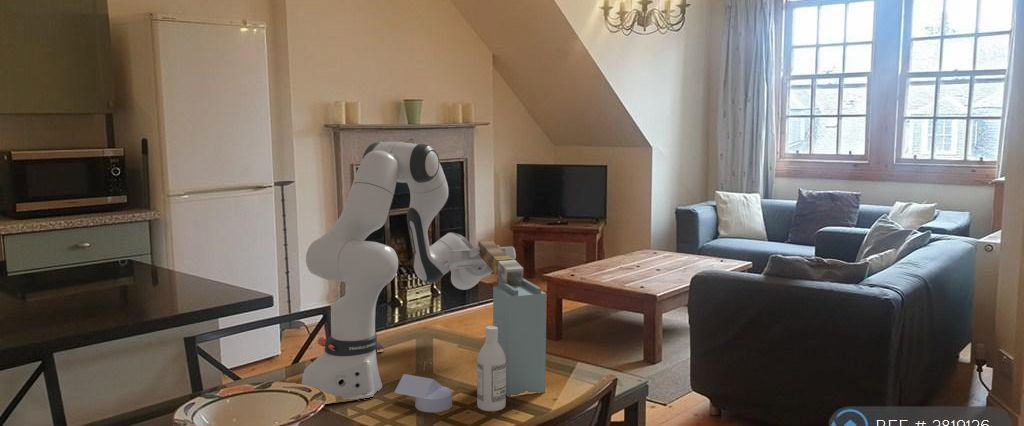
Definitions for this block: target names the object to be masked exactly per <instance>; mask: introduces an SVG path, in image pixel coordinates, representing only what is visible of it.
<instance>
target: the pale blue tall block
mask: <svg viewBox="0 0 1024 426" xmlns="http://www.w3.org/2000/svg"><path fill="white" fill-rule="evenodd" d="M497 281H498V282H497V285H494V286H492V293H493V294H492V301H493V302H492V307H493V308H492V326H496V327H497V328H498V343H499V345H500V346H501V348H502V349H503V351H504V354H505V358H506V396H507V395H508V396H511V395H518V394H520V393H524V392H525V391H528V392H540V393H539V394H544V393H546V371H547V370H546V369H547V367H546V358H547V357H546V356H547V352H546V350H547V347H546V345H547V292H544V291H542V288H541V287H539V286H537V285H536V284H534V283H532V282H531V281H528V279H525V278H523V280H522V285H519V286H510V285H509V284H507V283H505V282H504V281H502V280H499V279H498V280H497ZM508 396H507V397H508Z"/></svg>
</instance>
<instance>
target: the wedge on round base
mask: <svg viewBox="0 0 1024 426" xmlns="http://www.w3.org/2000/svg"><path fill="white" fill-rule="evenodd" d="M393 394H399V395H403V396H409V397H414V404H415V405H414V406H415V408H416V409H417V411H420V412H423V413H441V412H445V411H448V410H450V409H451V408H452V407H453V390H452V389H451V388H449V387H447V386H443V385H442V384H441V383H440V382H438V381H437V380H436V379H434V378H429V377H424V376H418V375H412V374H406V373H404V374H402V376H401V378H400V380H399V382H398V384H397V386H396V388H395V390H394V392H393Z"/></svg>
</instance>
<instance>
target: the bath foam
mask: <svg viewBox="0 0 1024 426" xmlns="http://www.w3.org/2000/svg"><path fill="white" fill-rule="evenodd" d="M476 375H477V376H476V379H477V380H476V387H477V388H476V389H477V390H476V399H477V402H476V405H477V408H478V409H479V410H481V411H484V412H490V413H491V412H498V411H502V410H503V409H504V408H505V407H506V402H507V401H506V400H507V397H506V396H507V395H506V358H505V354H504V351H503V349H502V348H501V346H500V345H499V343H498V328H497V327H496V326H493V325H488V326H486V327H485V342H484V344H483V345H482V346H481V347H480V350H479V351H478V355H477V359H476Z"/></svg>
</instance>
